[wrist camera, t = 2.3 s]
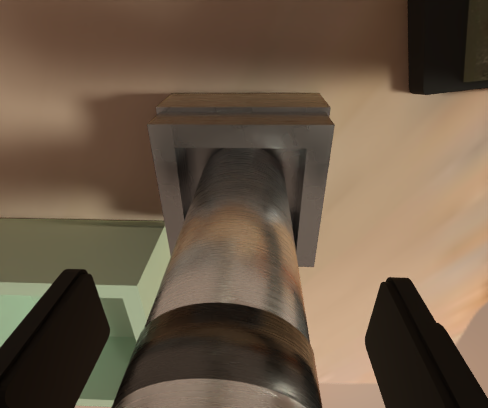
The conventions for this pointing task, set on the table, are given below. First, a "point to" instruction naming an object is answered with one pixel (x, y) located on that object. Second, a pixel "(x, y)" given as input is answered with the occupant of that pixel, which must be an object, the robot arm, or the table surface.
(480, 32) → the mechanical leg
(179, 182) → the socket block
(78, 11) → the table surface
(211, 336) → the strut
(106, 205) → the table surface
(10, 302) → the bin
